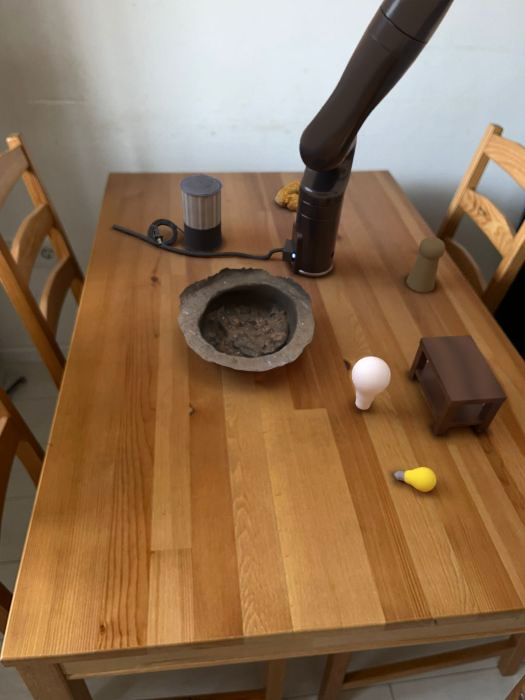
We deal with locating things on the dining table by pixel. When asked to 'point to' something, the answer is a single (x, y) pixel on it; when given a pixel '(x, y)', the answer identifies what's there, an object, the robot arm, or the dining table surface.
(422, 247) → the cork
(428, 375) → the shelf
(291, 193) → the golden lumpy piece
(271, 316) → the stone bowl
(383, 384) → the lightbulb
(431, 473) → the light bulb
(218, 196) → the milk frother
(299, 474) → the dining table surface
